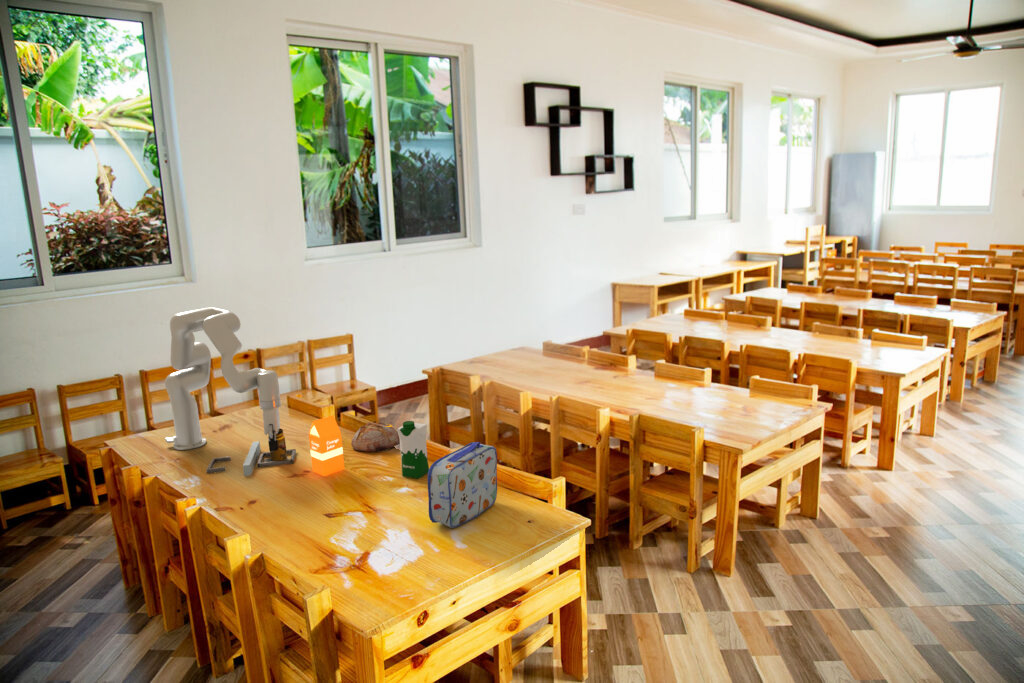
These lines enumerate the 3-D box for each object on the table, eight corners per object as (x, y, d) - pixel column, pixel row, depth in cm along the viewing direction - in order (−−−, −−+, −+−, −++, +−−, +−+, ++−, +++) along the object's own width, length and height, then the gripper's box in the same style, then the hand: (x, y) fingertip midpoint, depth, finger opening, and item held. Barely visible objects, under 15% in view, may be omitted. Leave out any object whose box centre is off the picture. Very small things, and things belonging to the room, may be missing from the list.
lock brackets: (206, 473, 265) (206, 469, 264) (213, 461, 276) (212, 458, 276) (293, 463, 271) (292, 459, 270) (296, 452, 282) (295, 448, 282)
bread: (348, 446, 289) (345, 422, 288) (395, 437, 297) (393, 414, 295) (357, 457, 274) (354, 432, 273) (406, 447, 282) (404, 422, 281)
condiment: (290, 460, 274) (287, 430, 272) (268, 465, 270) (264, 435, 267) (285, 454, 280) (281, 425, 278) (263, 460, 276) (259, 430, 273)
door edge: (244, 476, 261) (242, 465, 260) (254, 451, 286) (253, 441, 285) (251, 475, 261) (249, 464, 260) (260, 450, 286) (259, 441, 285)
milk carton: (398, 477, 253) (394, 423, 249) (412, 467, 261) (408, 415, 257) (419, 480, 249) (415, 426, 245) (433, 470, 257) (429, 418, 253)
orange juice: (344, 468, 263) (339, 417, 259) (324, 476, 257) (318, 423, 253) (332, 464, 268) (327, 413, 264) (312, 471, 262) (306, 419, 258)
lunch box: (477, 494, 236) (474, 431, 231) (504, 500, 230) (501, 435, 226) (425, 529, 213) (420, 460, 209) (453, 536, 208) (448, 465, 203)
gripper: (262, 398, 278) (268, 439, 281) (256, 411, 261) (262, 455, 265) (282, 396, 279) (287, 437, 283) (278, 408, 263) (283, 452, 266)
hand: (275, 445), depth 274 cm, fingers open, 9 cm apart
